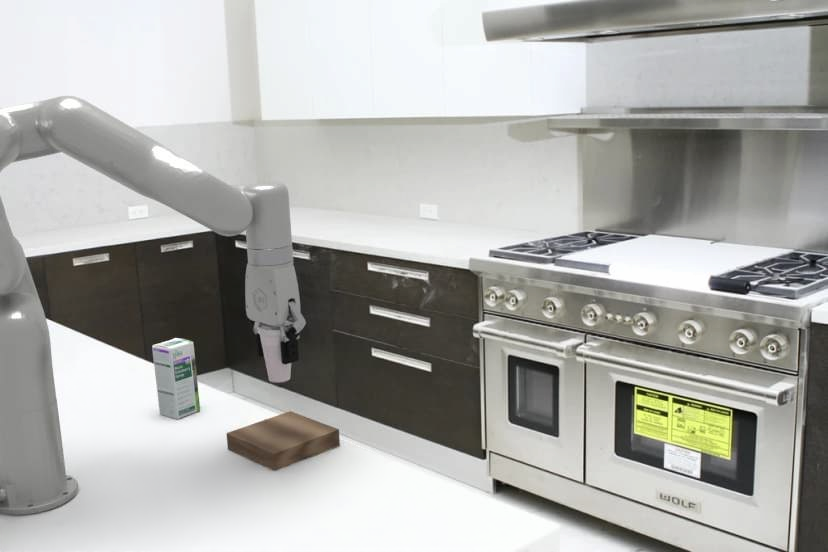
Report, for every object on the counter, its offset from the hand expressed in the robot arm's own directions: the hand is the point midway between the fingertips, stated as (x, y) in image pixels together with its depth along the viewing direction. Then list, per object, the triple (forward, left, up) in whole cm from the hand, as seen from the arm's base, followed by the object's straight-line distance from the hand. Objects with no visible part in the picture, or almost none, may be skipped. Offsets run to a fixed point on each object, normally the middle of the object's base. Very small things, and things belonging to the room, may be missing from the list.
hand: (278, 357), depth 154 cm
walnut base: (0, 0, -17) cm, 17 cm away
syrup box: (-3, +30, -17) cm, 35 cm away
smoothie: (0, 0, -4) cm, 4 cm away
